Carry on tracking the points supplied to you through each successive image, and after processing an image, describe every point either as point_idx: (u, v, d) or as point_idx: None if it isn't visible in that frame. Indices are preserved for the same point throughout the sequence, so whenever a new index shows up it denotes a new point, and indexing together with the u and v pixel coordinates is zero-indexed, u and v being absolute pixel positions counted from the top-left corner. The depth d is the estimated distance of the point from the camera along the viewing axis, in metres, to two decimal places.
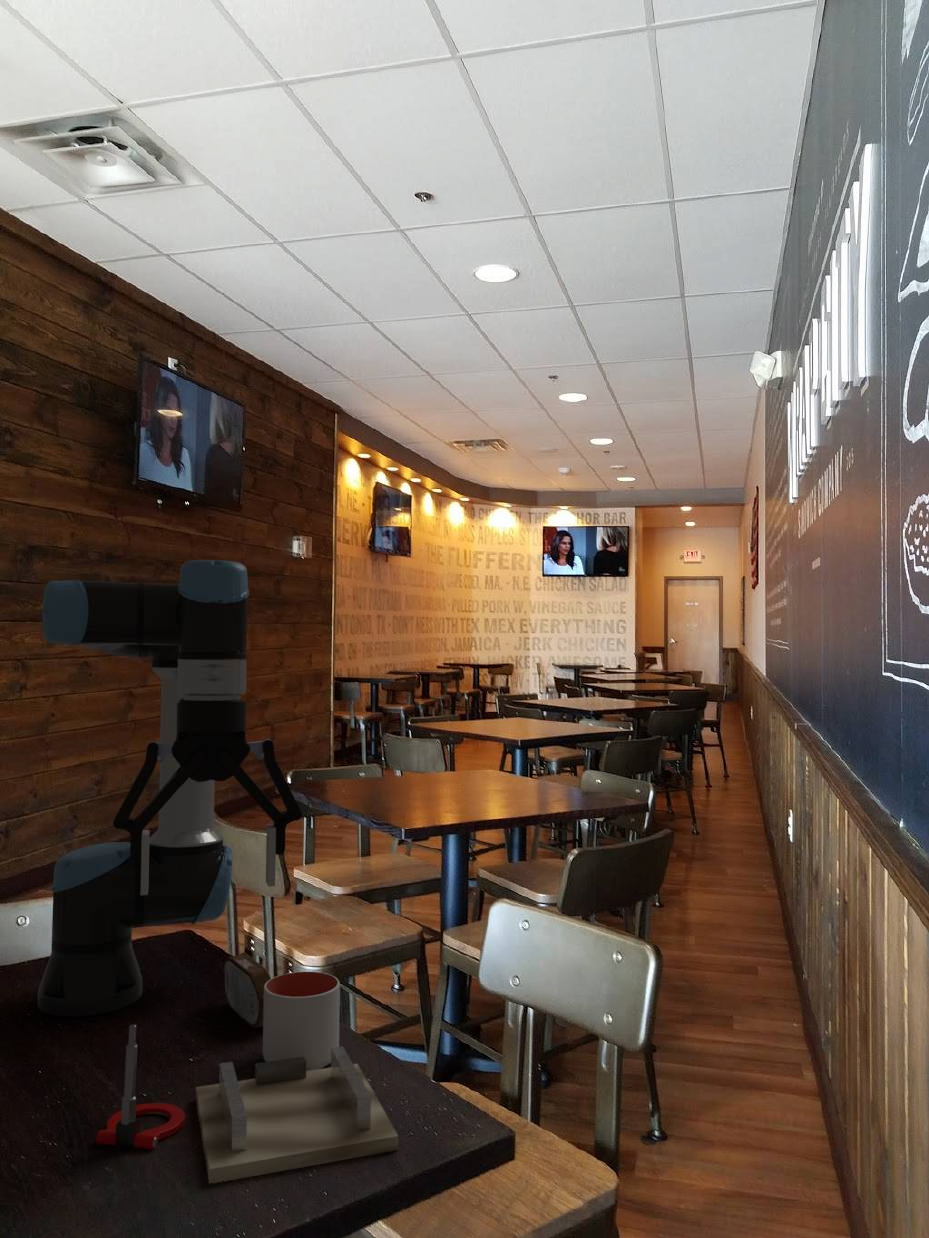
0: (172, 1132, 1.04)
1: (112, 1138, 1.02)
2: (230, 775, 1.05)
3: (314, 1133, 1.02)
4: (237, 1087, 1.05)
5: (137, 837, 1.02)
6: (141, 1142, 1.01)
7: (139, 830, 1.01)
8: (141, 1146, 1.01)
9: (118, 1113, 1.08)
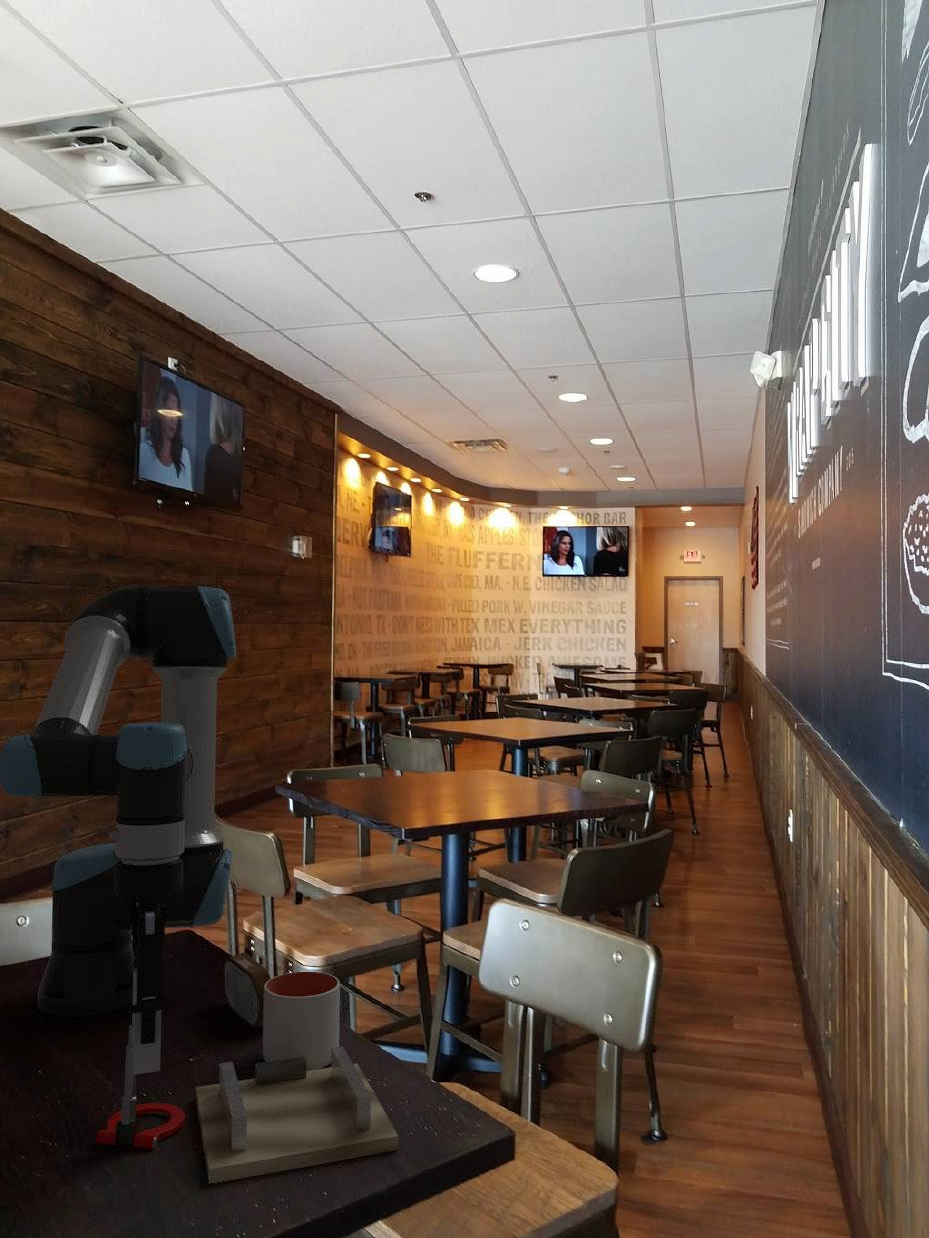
0: (172, 1132, 1.05)
1: (112, 1138, 1.02)
2: None
3: (314, 1133, 1.02)
4: (237, 1087, 1.05)
5: None
6: (141, 1142, 1.01)
7: (134, 966, 1.13)
8: (141, 1146, 1.01)
9: (118, 1113, 1.08)
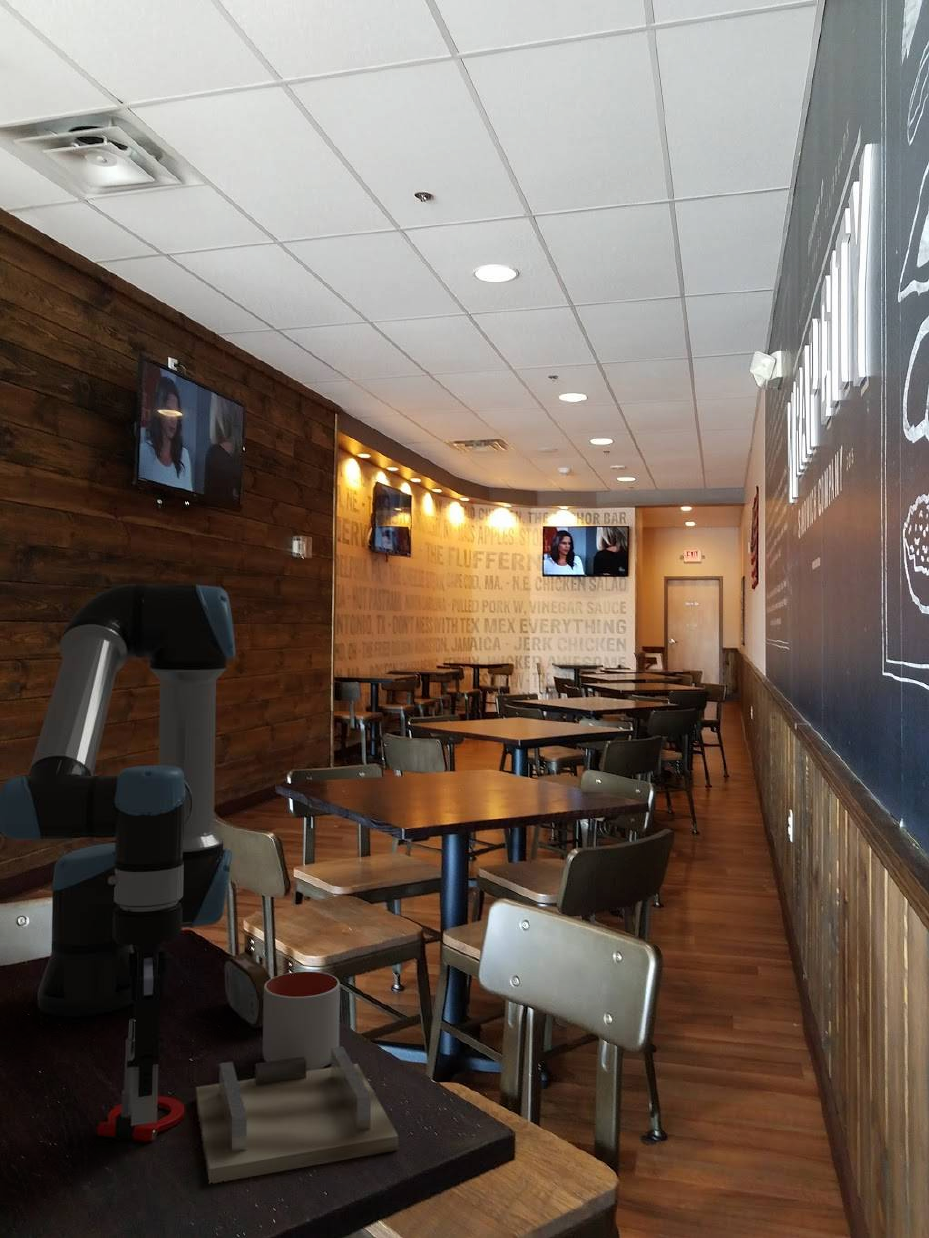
0: (171, 1125, 1.06)
1: (112, 1130, 1.04)
2: None
3: (314, 1133, 1.02)
4: (237, 1087, 1.05)
5: None
6: (140, 1134, 1.03)
7: None
8: (140, 1138, 1.03)
9: (119, 1106, 1.10)
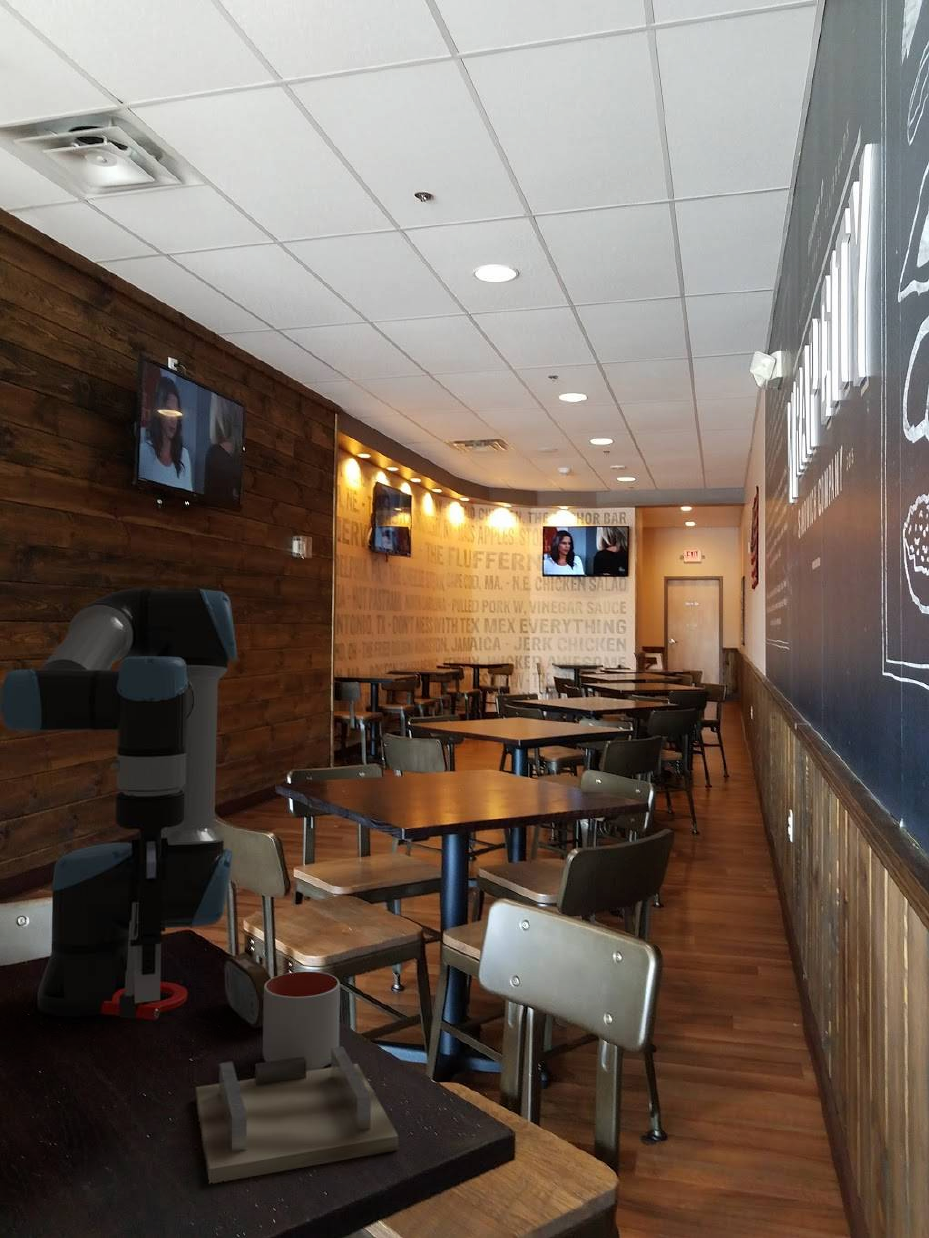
0: (174, 1006, 1.08)
1: (116, 1008, 1.06)
2: None
3: (314, 1133, 1.02)
4: (237, 1087, 1.05)
5: None
6: (143, 1012, 1.06)
7: None
8: (143, 1016, 1.05)
9: (124, 989, 1.12)
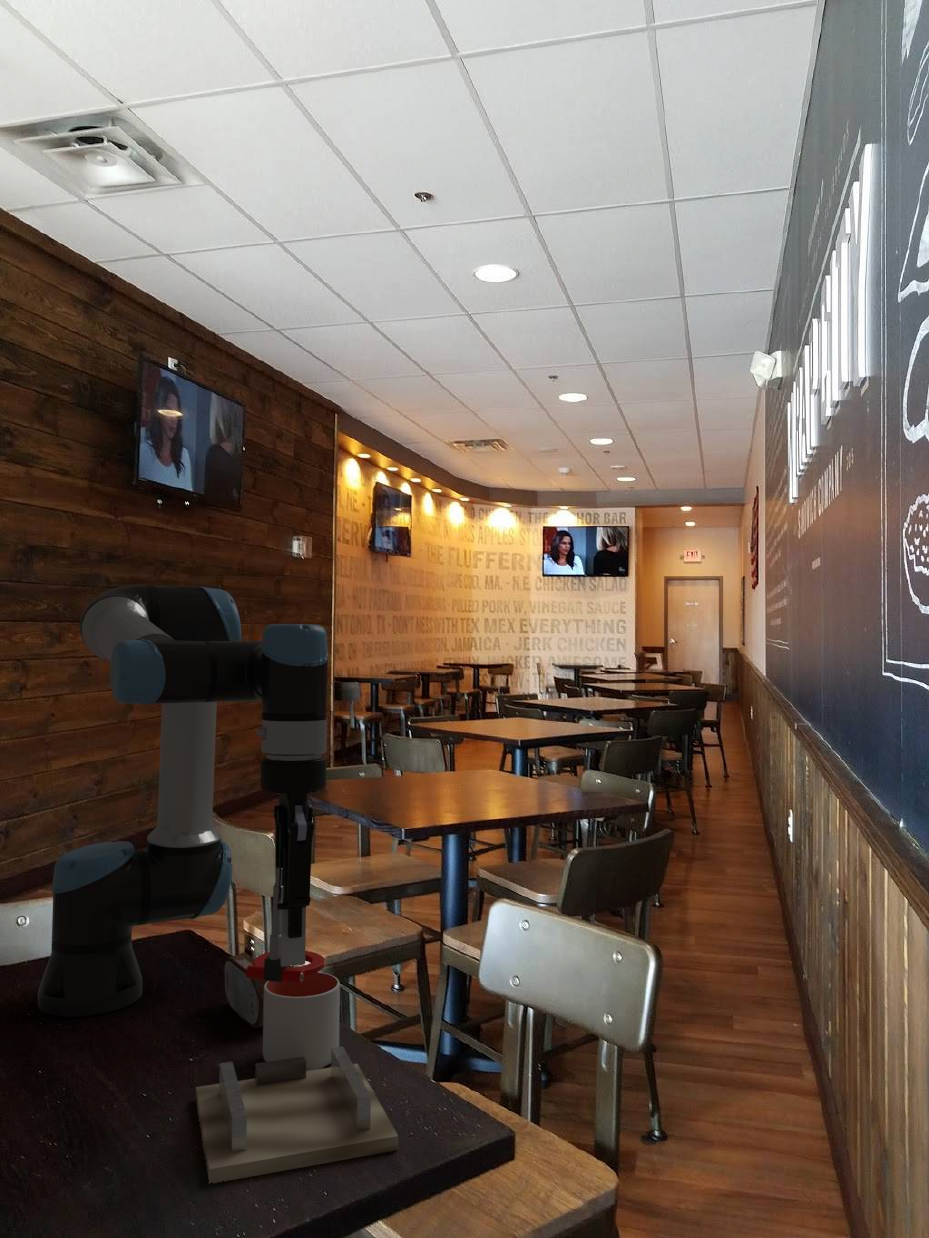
0: (315, 971, 1.09)
1: (261, 972, 1.07)
2: None
3: (314, 1133, 1.02)
4: (237, 1087, 1.05)
5: None
6: (289, 976, 1.06)
7: None
8: (289, 980, 1.06)
9: (262, 955, 1.13)
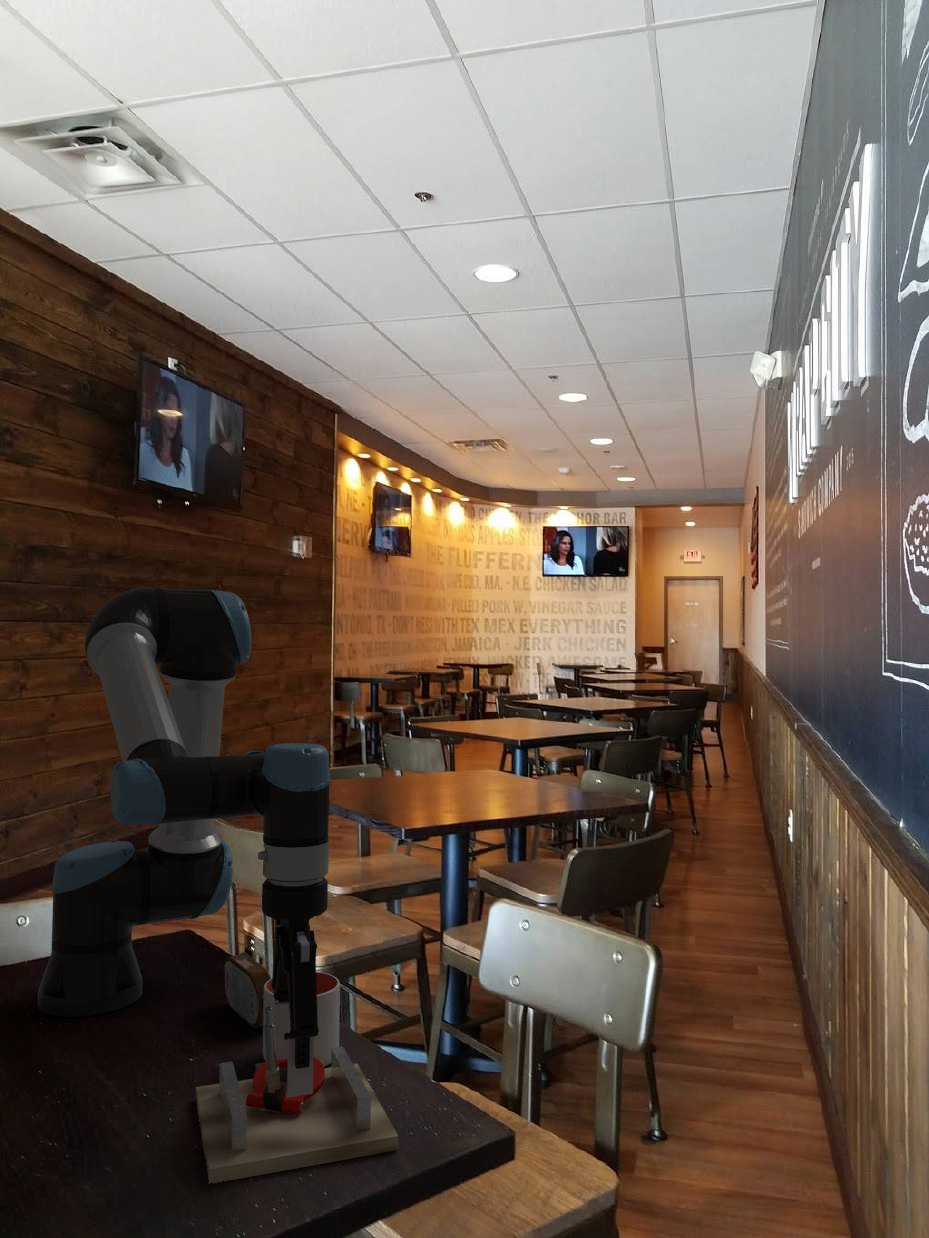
0: (316, 1091, 1.09)
1: (261, 1103, 1.07)
2: (288, 960, 1.06)
3: (314, 1133, 1.02)
4: (237, 1087, 1.05)
5: None
6: (289, 1107, 1.06)
7: (275, 997, 1.13)
8: (289, 1111, 1.06)
9: (261, 1068, 1.12)
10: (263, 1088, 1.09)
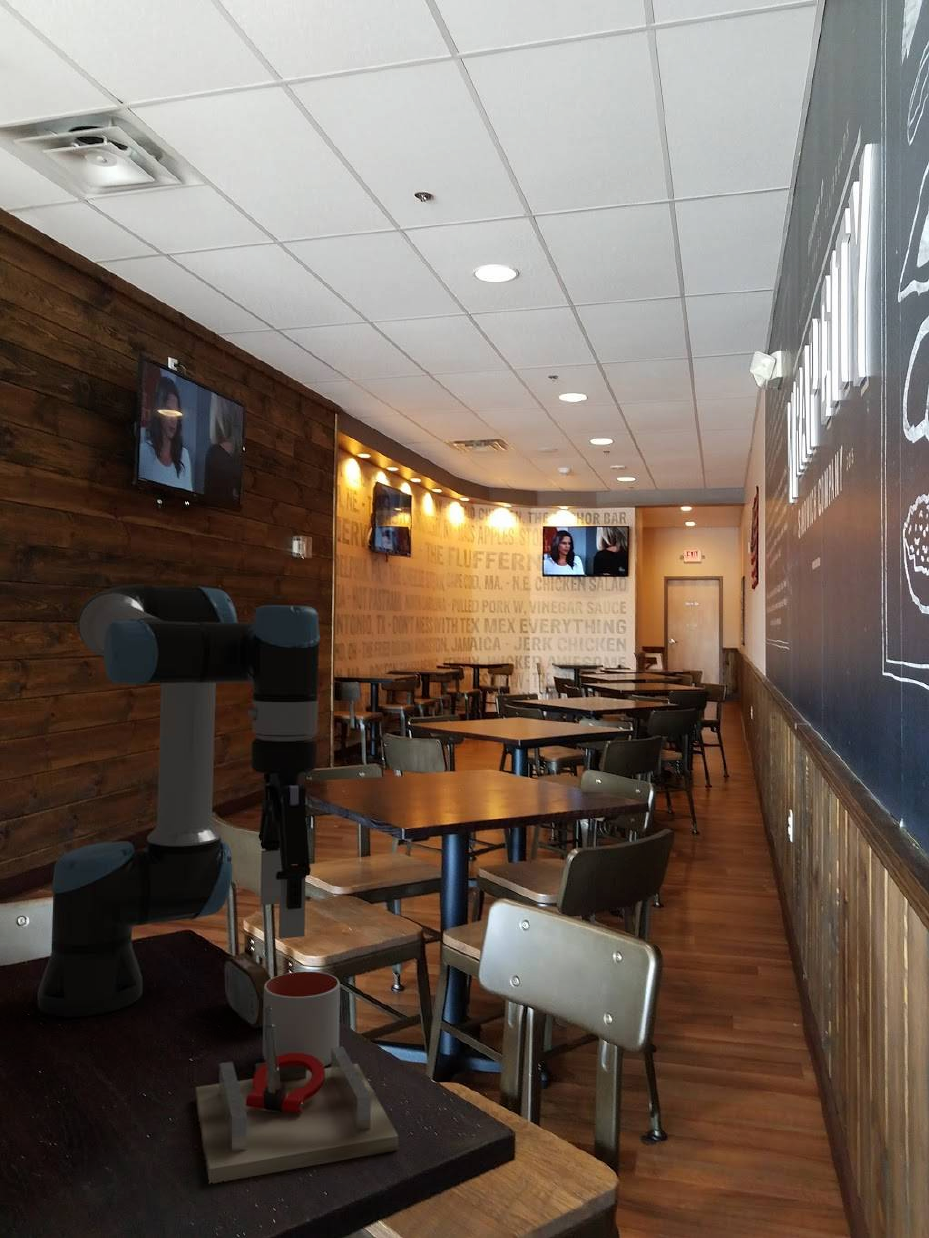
0: (316, 1091, 1.09)
1: (261, 1103, 1.07)
2: None
3: (314, 1133, 1.02)
4: (237, 1087, 1.05)
5: None
6: (289, 1107, 1.06)
7: (262, 846, 1.16)
8: (289, 1111, 1.06)
9: (261, 1068, 1.12)
10: (263, 1088, 1.09)
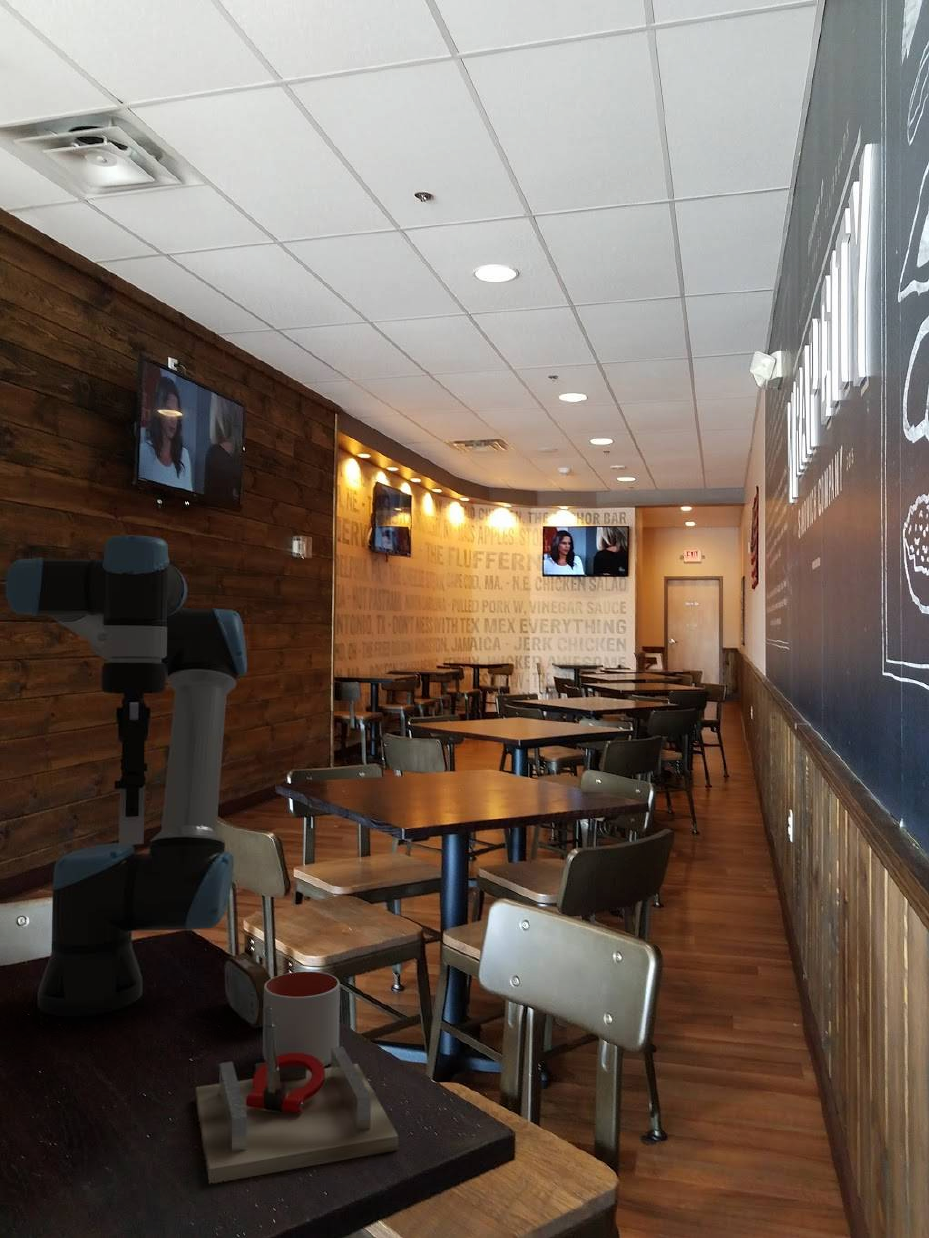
0: (316, 1091, 1.09)
1: (261, 1103, 1.07)
2: None
3: (314, 1133, 1.02)
4: (237, 1087, 1.05)
5: None
6: (289, 1107, 1.06)
7: (121, 769, 1.22)
8: (289, 1111, 1.06)
9: (261, 1068, 1.12)
10: (263, 1088, 1.09)
